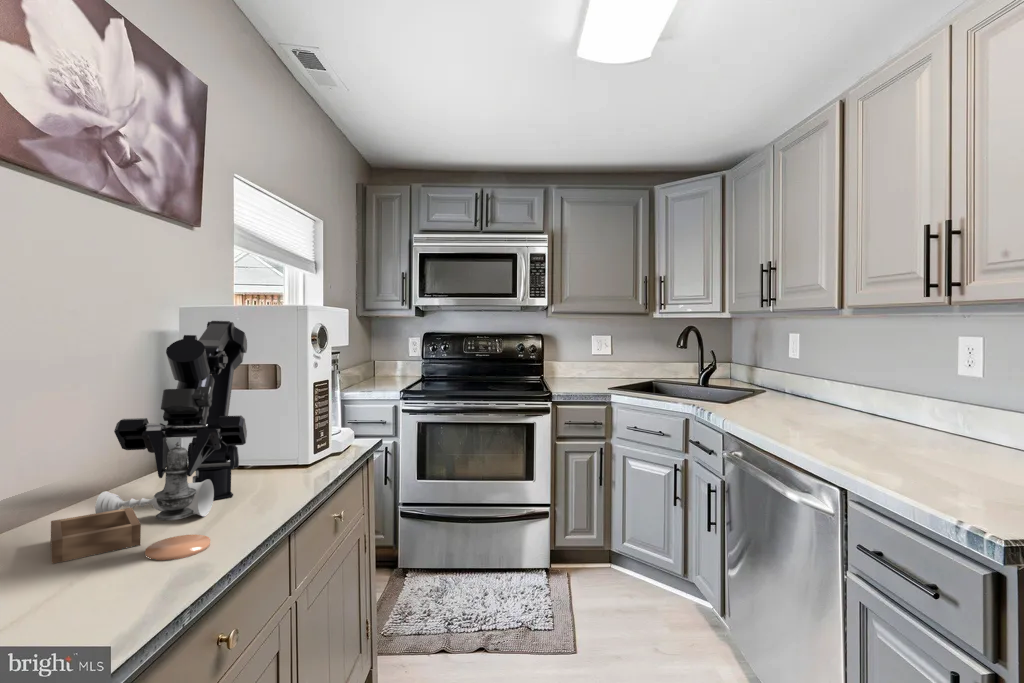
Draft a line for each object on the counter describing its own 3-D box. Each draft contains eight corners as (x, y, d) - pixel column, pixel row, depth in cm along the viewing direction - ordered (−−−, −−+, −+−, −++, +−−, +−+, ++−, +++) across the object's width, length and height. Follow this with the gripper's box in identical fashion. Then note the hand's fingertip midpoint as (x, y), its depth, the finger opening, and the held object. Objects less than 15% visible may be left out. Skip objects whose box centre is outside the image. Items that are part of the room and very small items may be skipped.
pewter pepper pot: (190, 519, 83) (193, 445, 83) (147, 522, 81) (150, 446, 81) (200, 507, 88) (202, 438, 88) (160, 509, 86) (163, 438, 86)
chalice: (98, 533, 96) (202, 524, 98) (86, 504, 93) (194, 497, 96) (119, 505, 102) (216, 498, 105) (109, 478, 99) (209, 471, 102)
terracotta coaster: (203, 533, 91) (203, 530, 91) (216, 550, 84) (216, 546, 84) (141, 547, 85) (141, 543, 85) (149, 565, 78) (150, 561, 78)
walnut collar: (131, 526, 94) (131, 507, 94) (140, 545, 86) (140, 524, 86) (50, 541, 86) (50, 521, 86) (51, 563, 78) (52, 540, 78)
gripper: (119, 370, 85) (89, 452, 75) (245, 370, 91) (233, 445, 81) (135, 410, 92) (110, 490, 82) (251, 408, 99) (240, 481, 89)
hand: (174, 476), depth 83 cm, fingers closed on pewter pepper pot, 4 cm apart
